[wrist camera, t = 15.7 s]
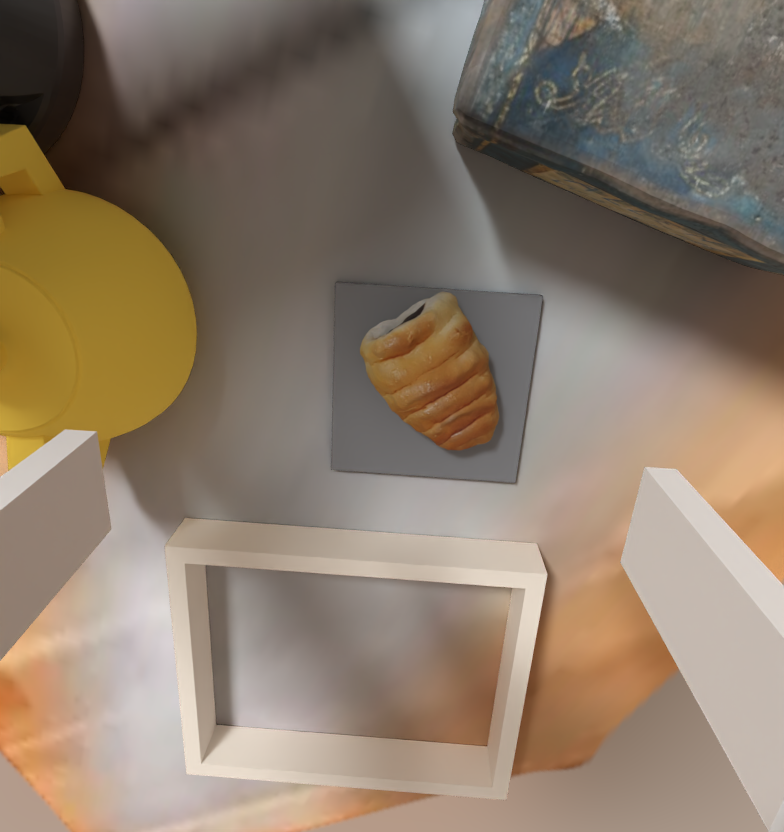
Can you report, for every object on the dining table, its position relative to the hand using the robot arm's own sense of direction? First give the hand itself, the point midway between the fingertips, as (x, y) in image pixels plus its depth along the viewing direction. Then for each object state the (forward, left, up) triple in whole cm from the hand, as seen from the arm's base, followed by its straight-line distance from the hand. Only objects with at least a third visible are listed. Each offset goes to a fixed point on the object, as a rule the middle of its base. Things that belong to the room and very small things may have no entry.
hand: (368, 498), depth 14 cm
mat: (+2, -4, -22) cm, 23 cm away
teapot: (-21, -1, -22) cm, 31 cm away
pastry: (+2, -2, -22) cm, 22 cm away
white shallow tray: (-2, -25, -22) cm, 33 cm away
